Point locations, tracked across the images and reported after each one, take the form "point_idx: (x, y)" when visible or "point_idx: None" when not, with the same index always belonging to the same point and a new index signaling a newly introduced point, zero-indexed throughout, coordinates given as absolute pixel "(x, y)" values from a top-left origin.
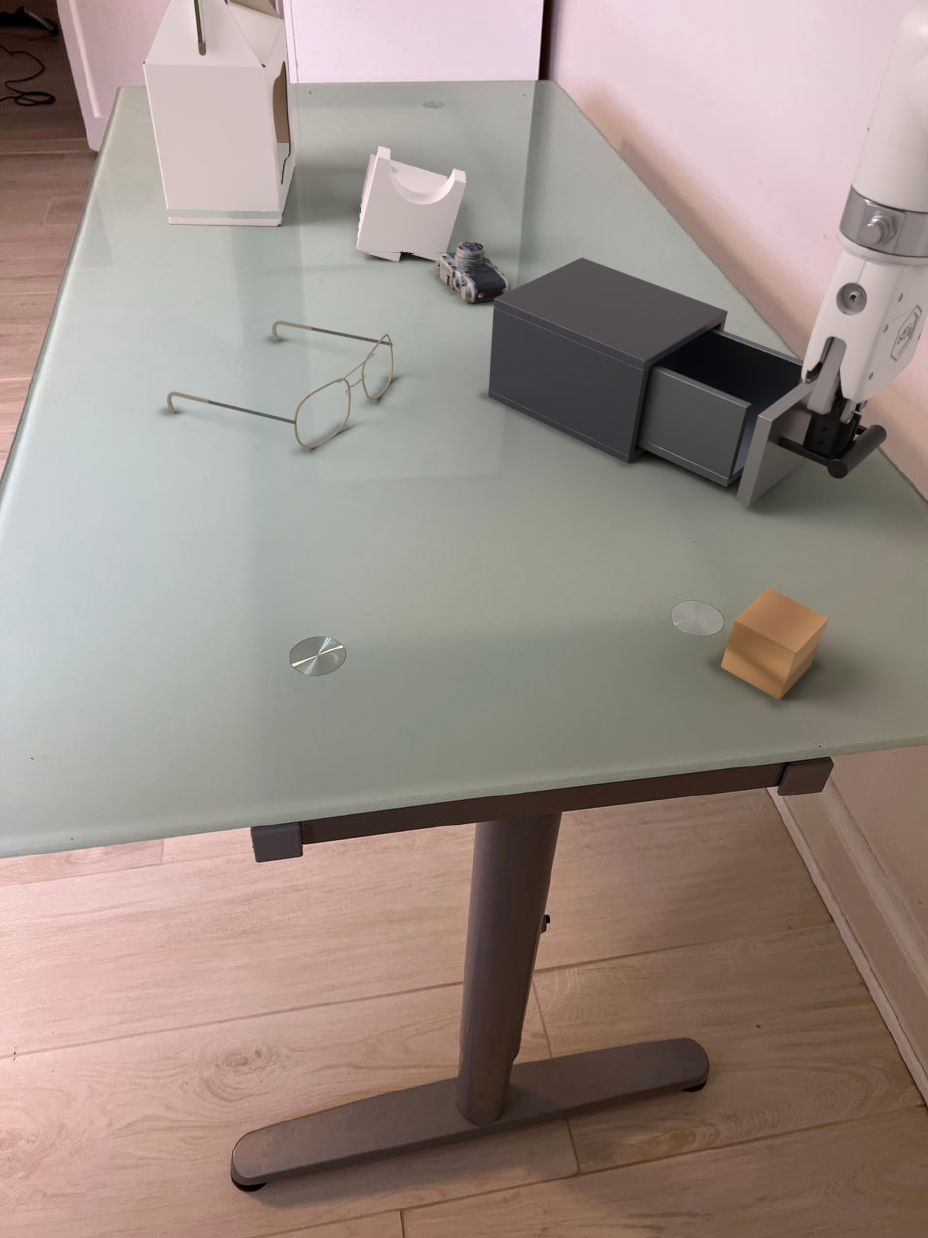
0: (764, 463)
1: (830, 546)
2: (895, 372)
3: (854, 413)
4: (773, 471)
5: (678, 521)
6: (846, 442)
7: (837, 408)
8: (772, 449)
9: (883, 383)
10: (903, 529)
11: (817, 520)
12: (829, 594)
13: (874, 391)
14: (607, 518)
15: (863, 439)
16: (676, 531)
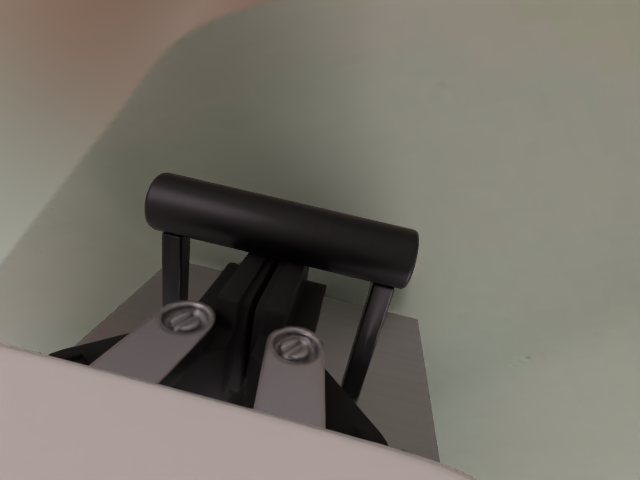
0: (406, 377)
1: (436, 158)
2: (60, 406)
3: (221, 317)
4: (344, 327)
5: (481, 384)
6: (299, 274)
7: (380, 441)
8: (382, 390)
9: (246, 448)
10: (295, 31)
11: (362, 199)
12: (612, 119)
13: (373, 474)
14: (518, 457)
15: (255, 237)
16: (510, 381)
